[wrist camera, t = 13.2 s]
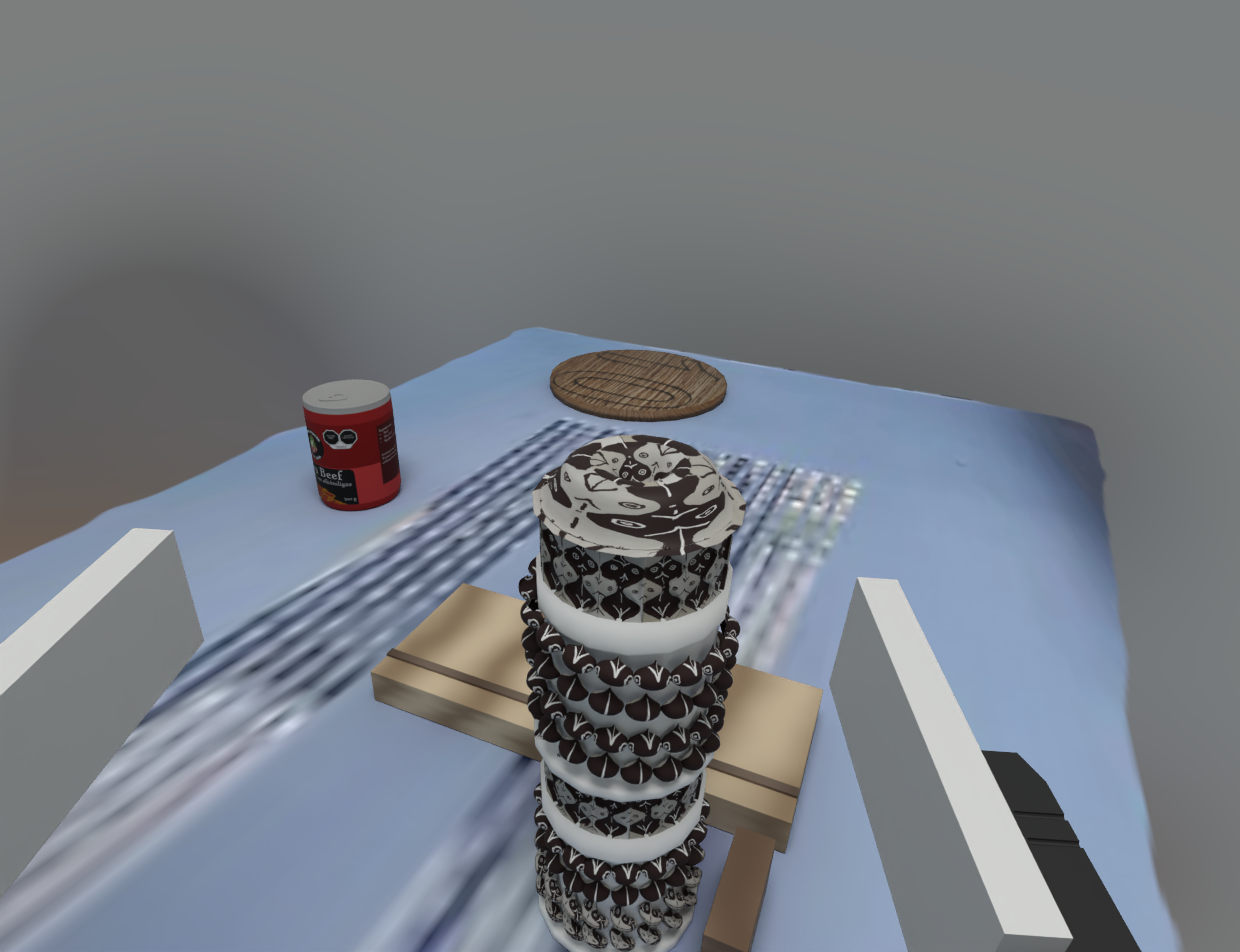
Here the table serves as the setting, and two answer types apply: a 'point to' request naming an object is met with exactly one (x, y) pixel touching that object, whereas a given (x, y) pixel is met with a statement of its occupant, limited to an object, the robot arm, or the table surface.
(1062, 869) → the robot arm
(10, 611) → the table surface
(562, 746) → the decorative candle
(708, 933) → the brown flat block
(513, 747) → the oak board
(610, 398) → the trivet
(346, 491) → the canned food
